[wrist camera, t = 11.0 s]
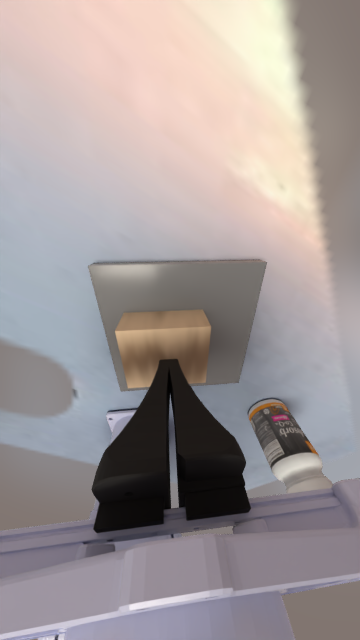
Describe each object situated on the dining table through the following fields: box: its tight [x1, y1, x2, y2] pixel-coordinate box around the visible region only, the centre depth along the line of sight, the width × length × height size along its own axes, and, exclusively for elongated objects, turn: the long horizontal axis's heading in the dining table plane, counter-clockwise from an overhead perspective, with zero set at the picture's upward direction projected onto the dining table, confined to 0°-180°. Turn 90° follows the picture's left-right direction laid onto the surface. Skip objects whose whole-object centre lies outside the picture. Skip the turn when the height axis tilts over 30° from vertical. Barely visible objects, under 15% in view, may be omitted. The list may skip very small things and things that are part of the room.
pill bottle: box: [248, 399, 333, 494], centre depth 21 cm, size 6×6×10 cm
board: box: [88, 260, 267, 391], centre depth 17 cm, size 14×14×1 cm
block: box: [115, 310, 211, 388], centre depth 15 cm, size 6×3×7 cm
